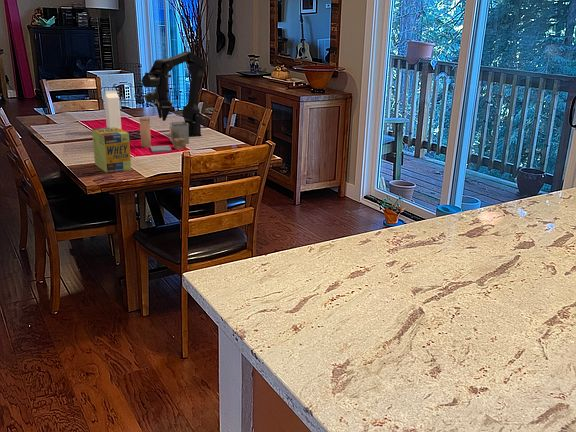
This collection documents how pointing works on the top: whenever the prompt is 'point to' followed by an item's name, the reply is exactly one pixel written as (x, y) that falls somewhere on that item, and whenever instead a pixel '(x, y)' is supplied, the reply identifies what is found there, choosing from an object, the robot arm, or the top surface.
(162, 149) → the pad
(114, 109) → the milk
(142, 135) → the canister
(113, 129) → the protein box
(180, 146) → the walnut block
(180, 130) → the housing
